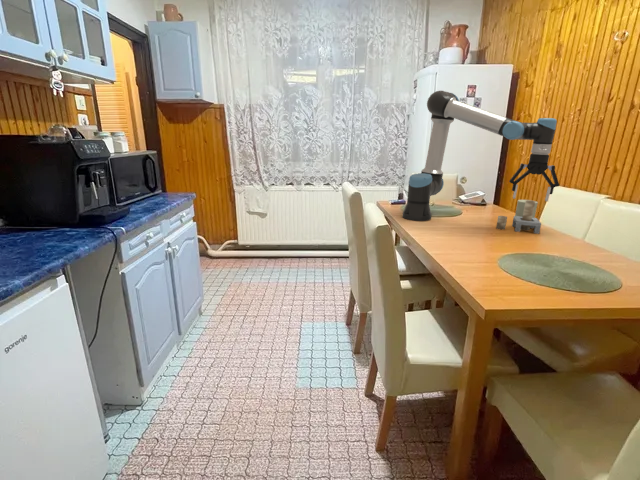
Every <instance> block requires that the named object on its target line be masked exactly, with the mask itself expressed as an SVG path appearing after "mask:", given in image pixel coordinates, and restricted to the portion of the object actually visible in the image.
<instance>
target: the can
mask: <svg viewBox="0 0 640 480" xmlns="http://www.w3.org/2000/svg"><path fill="white" fill-rule="evenodd" d="M527 200H529V201H533V200H532V199H518V200H517V204H516V209H515V214H514V216H519V217H523V212H524V207H525V201H527ZM534 201H535V206H534V211H533V216H532V218H536V212H537V207H538V201H536V200H534Z"/></svg>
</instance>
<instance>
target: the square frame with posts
mask: <svg viewBox="0 0 640 480" xmlns="http://www.w3.org/2000/svg"><path fill="white" fill-rule="evenodd" d="M521 225H529V226H530V229H533V228H534V229H533V234H539V235H540V231H541V227H542V222H540V220H539V219H538V218H537V217H534V218H532V221H524V220H522V217H519V216H515V215H514V216H513V219H512V224H511V226H512V227H514V232H517V233H521V229H520V228H521Z"/></svg>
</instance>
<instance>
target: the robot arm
mask: <svg viewBox="0 0 640 480" xmlns="http://www.w3.org/2000/svg"><path fill="white" fill-rule="evenodd" d="M426 106H427V107H426V108H427V111H428V112H429V113H430V114H431V117H430V120H431V122H432V128H431V133H430V137H429V145H428V150H427V156H426V160H425V166H424V168H423V169H421V172H420V173H414V174H411V175H410V176H409V178H408V189H407V198H406V199H407V200H406V204H405V207H404V209H403V211H402V218H403V219H405V220H409V221H417V222H424V221H430V220H431V219H432V212H431V207H430V206H431V205H430V202H431V201H430V200H431V196H432V197H433V196H436V195H437V194H439V193H440V192H441V191H443V187H444V179H443V176H444V172H443V171H442V166H443V161H444V157H445V151H446V146H447V141H448V137H449V132H450V131H449V130H450V125H451V123H453V122H455V121H454V120H457V121H461V122H463V123H465V124H469V125H471V126H474V127H477V128H480V129H482V130H486V131H488V132H491V133H494V134H496V135H499V136H501V137H505V138H506V139H507V140H509V141H510V140H511V141H514V140H528V141H533V142H532V146H531V150H530V153H531V154H530V155H529V159H528V163H527V164H525V163H520V165H519V168H518V169H517V170H516V172H515V173H514V174H513V175H512V176H511V178H510V179H509V183H510V184H512V186H511V187H512V189H511V191H512V192H513V195H512V198H513V199H516V197H517V192H518V187H519V184H518V183H520V182H521V181H522V180H524V179H525V178H526V177H527V176H529V175H530V174H531V175H538V176H539V175H542V176H543V178H544V179H545V181H546V182H547V183H548V185H549V186H548V187H547V189H546V190H547V191H546V193H545V198H544V201H545V202H549V199H550V195H552V194H553V193H554V190H555V189H554V188H557V187H560V183H559V179H558V177H557V174H556V173H557V172H556V166H555V165H553V164H552V165H548V163H549V159H550V155H549V154H551V150H552V145H553V141H554V136H555V134H556V129H557V124H558V123H557V121H558V120H557V119H556V118H552V117H541V118H537V121H536V122H521V121H518V120H514V119H511V118H508V117H505V116H502V115H500V114H496V113H494V112H491V111H489V110H486V109H483V108H480V107H476V106H474V105H471V104H468V103H465V102H462V101H460V100H459V97H458V96H457V95H456V94H455V93H453V92H449V91H446V90H445V91H444V90H437V91H434V92H433V93H431V94H430V95H429V97H428V98H427V101H426ZM525 168H527V170H526V171H525V172H524V173H523V174H522V175H520V174H521V172H522V171H523V170H524V169H525ZM547 169H548V170H549V171H550V174H551V176H552V177H551V178H552V179H553V181H552V180H551V178H550V177H549V176H548V174H547V173H546V171H547ZM519 175H520V176H519ZM518 176H519V177H518Z"/></svg>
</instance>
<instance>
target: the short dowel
mask: <svg viewBox="0 0 640 480" xmlns="http://www.w3.org/2000/svg"><path fill="white" fill-rule="evenodd" d="M507 220H508V216H506V215H498V216H497V221H496V225H495V226H496V227H495V228H496V230H503V231H504V230H506V226H507V223H508V222H507Z"/></svg>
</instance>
